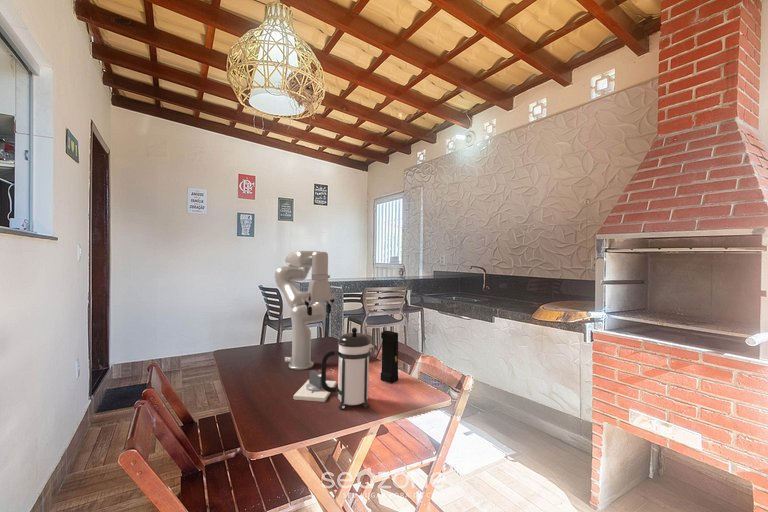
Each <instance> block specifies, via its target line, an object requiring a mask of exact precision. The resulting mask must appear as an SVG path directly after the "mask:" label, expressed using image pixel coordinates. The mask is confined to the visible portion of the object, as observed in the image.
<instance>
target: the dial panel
mask: <svg viewBox="0 0 768 512" xmlns="http://www.w3.org/2000/svg"><path fill="white" fill-rule="evenodd" d="M308 383H309V379H307V380H306V381H305V382H304V384H303V385H302V386H301V387H300V388H299V389H298V390H297V391H296V392H295V394H294V395H293V398H292V399H294V400H295V401H309V402H321V403H322V402H323V403H324V402H325V403H326V401H327V399H328V397H329V396H330V395H331V393H332V392H328V391H326V390H320V391H310V390H308V389H306V385H307V384H308ZM326 383H327V386H329V387H337V381H336V380H326Z"/></svg>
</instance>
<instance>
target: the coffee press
mask: <svg viewBox="0 0 768 512" xmlns="http://www.w3.org/2000/svg"><path fill="white" fill-rule="evenodd" d="M337 344H338V349H337V350H331V351H327V352H326V353H325V354H324V355H323V357H322V360H321V372H320V373H321V383H322V387H323V388H324V390H326V391H328V392H331V393H337V398H338V401H339V402H340V405H339V406H338V408H339V410H342V411H343V410H344V409H345V407H346V406H347V405H348V406H357V405H362V406H363V408H364V409H367V408H369V407H370V405H369V402H368V400H369V399H368V398H369V380H370V379H369V378H370V377H369V376H370V373H369V372H370V355H371V354H370V353H371V351H370V348H374V345H373V344H372V342H371V339H370V338H369V336H368V335H367V334H365V333H362V332H358V328H357V327H352V328H351V330H350V332H346V333H344V334H342V335H340V337H339V339H338V340H337ZM333 356H338V371H337V372H338V373H337V374H338V376H337V377H338V379H337V384H338V385H337V386H335V387H329V386H327V384H326V381H327V361H328V359H329V358H330V357H333Z"/></svg>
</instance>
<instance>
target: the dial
mask: <svg viewBox="0 0 768 512" xmlns="http://www.w3.org/2000/svg"><path fill="white" fill-rule="evenodd" d="M308 372H309V375H308V376H309V377H308V378H309V379H308V380H309V383H308V384H307V385H306V389H308V390H310V391H320V390H324V388H323V387H322V383H321V372H319V371H318V370H316V369H312V370H309V371H308ZM326 384H327V383H326Z"/></svg>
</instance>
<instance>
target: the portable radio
mask: <svg viewBox="0 0 768 512" xmlns="http://www.w3.org/2000/svg"><path fill="white" fill-rule="evenodd" d="M380 338H381V372H380V381H383V382H385V383H387V384H392V383H393V384H394V383H395V382H398V381H399V333H398V332H397V331H396V332H395V331H390V330H386V325H385V326H384V330H383V331H381V333H380Z"/></svg>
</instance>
